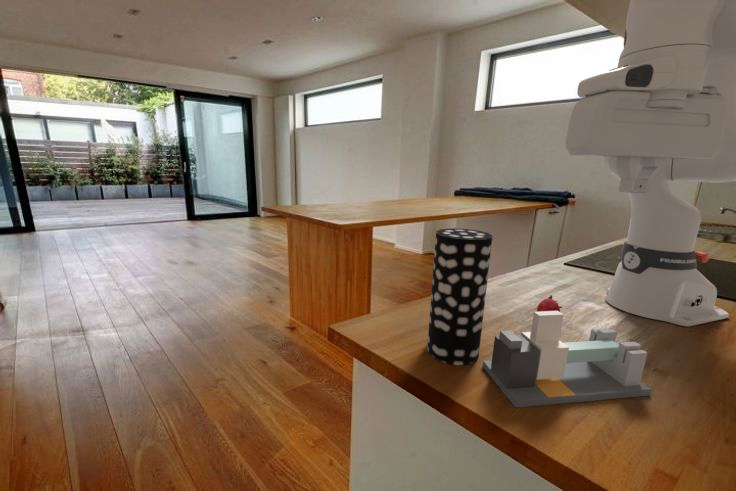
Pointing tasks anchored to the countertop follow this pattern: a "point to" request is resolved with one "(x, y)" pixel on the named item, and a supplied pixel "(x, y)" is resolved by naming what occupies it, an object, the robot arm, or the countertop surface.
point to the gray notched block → (621, 359)
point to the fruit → (548, 305)
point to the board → (570, 387)
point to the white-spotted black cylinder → (458, 294)
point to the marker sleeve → (548, 344)
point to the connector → (514, 360)
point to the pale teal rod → (591, 351)
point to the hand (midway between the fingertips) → (633, 192)
